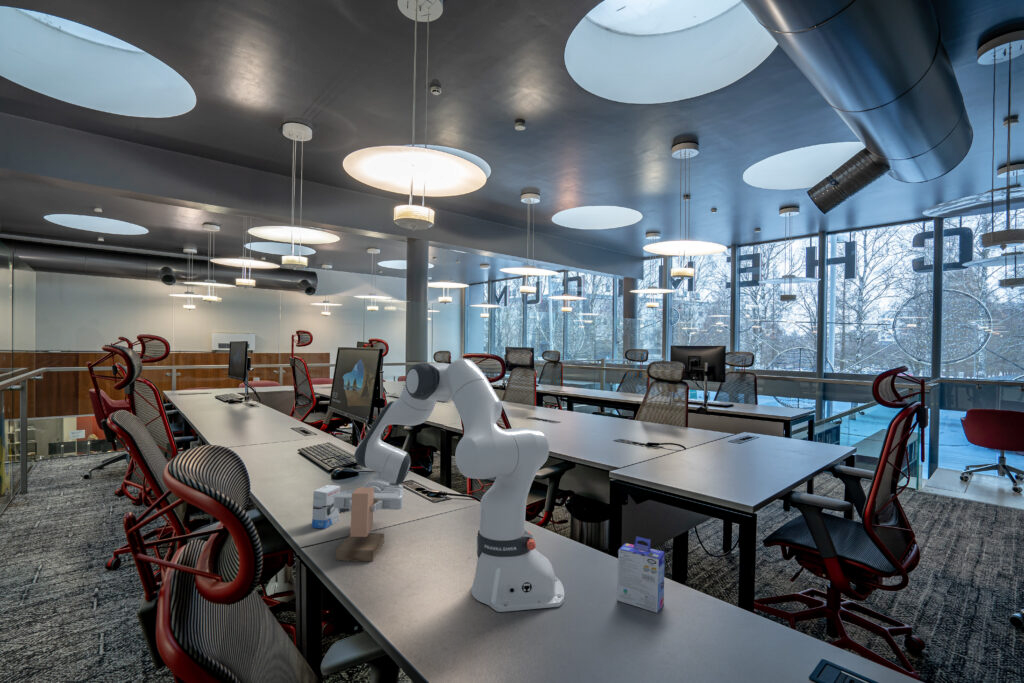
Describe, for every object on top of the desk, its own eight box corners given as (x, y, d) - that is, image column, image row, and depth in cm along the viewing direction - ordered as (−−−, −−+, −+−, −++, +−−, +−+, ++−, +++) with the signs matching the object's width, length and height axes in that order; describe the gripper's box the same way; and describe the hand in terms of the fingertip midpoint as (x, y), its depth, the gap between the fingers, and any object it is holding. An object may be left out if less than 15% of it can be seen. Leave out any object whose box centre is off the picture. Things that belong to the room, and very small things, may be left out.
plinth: (384, 543, 140) (384, 533, 140) (372, 561, 128) (373, 550, 128) (350, 543, 140) (350, 532, 140) (336, 560, 128) (336, 549, 128)
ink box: (324, 529, 150) (326, 492, 150) (311, 528, 151) (312, 491, 151) (339, 520, 158) (341, 485, 159) (326, 519, 159) (327, 484, 160)
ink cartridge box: (665, 603, 110) (666, 541, 110) (658, 614, 105) (660, 549, 105) (624, 591, 115) (625, 531, 115) (616, 601, 110) (617, 539, 111)
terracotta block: (372, 528, 137) (374, 487, 137) (366, 536, 131) (368, 493, 131) (357, 528, 137) (358, 487, 137) (350, 536, 131) (351, 493, 131)
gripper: (342, 483, 147) (325, 496, 134) (407, 484, 148) (397, 498, 134) (341, 503, 147) (324, 518, 133) (407, 504, 148) (396, 520, 134)
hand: (361, 508), depth 134 cm, fingers closed on terracotta block, 4 cm apart
